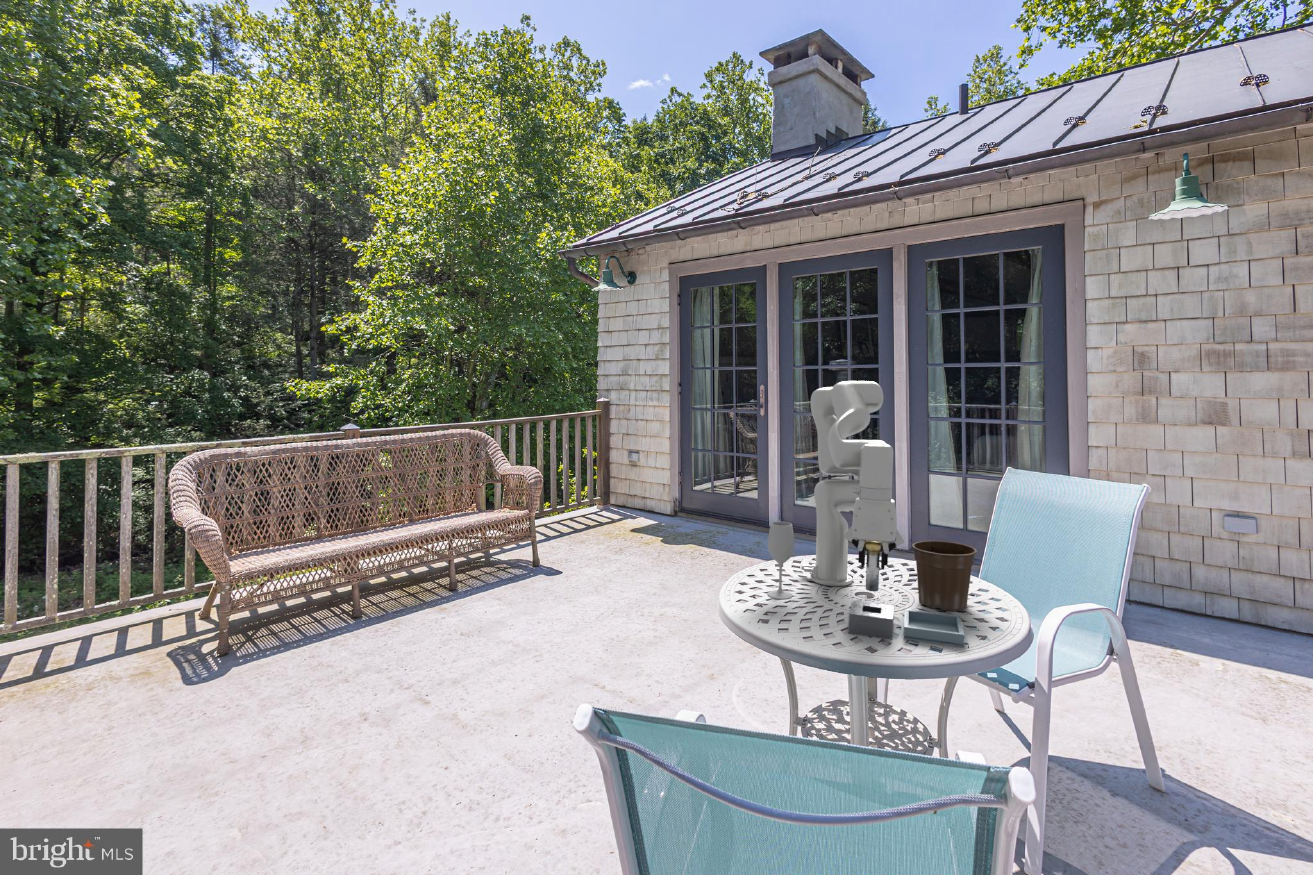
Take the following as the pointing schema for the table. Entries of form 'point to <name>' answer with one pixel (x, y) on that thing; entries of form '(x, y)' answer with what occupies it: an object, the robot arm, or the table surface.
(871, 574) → the pin
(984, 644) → the table surface
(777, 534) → the wineglass
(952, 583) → the plant pot
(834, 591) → the table surface
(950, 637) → the tray
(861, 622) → the block
